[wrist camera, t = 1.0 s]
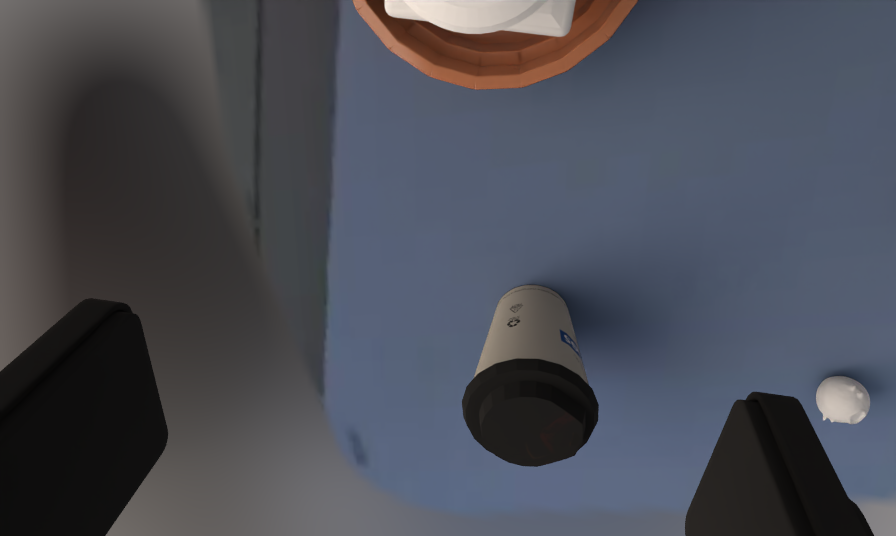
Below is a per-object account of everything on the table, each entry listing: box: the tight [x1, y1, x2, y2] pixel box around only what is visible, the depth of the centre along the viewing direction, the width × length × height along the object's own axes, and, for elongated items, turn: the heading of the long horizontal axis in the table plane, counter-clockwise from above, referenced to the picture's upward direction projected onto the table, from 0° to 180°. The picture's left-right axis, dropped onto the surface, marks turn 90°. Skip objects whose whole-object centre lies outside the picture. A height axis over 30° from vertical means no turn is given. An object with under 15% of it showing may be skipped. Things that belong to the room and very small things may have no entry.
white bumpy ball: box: [816, 376, 870, 424], centre depth 37 cm, size 3×3×3 cm
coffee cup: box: [462, 285, 599, 467], centre depth 34 cm, size 7×7×10 cm
